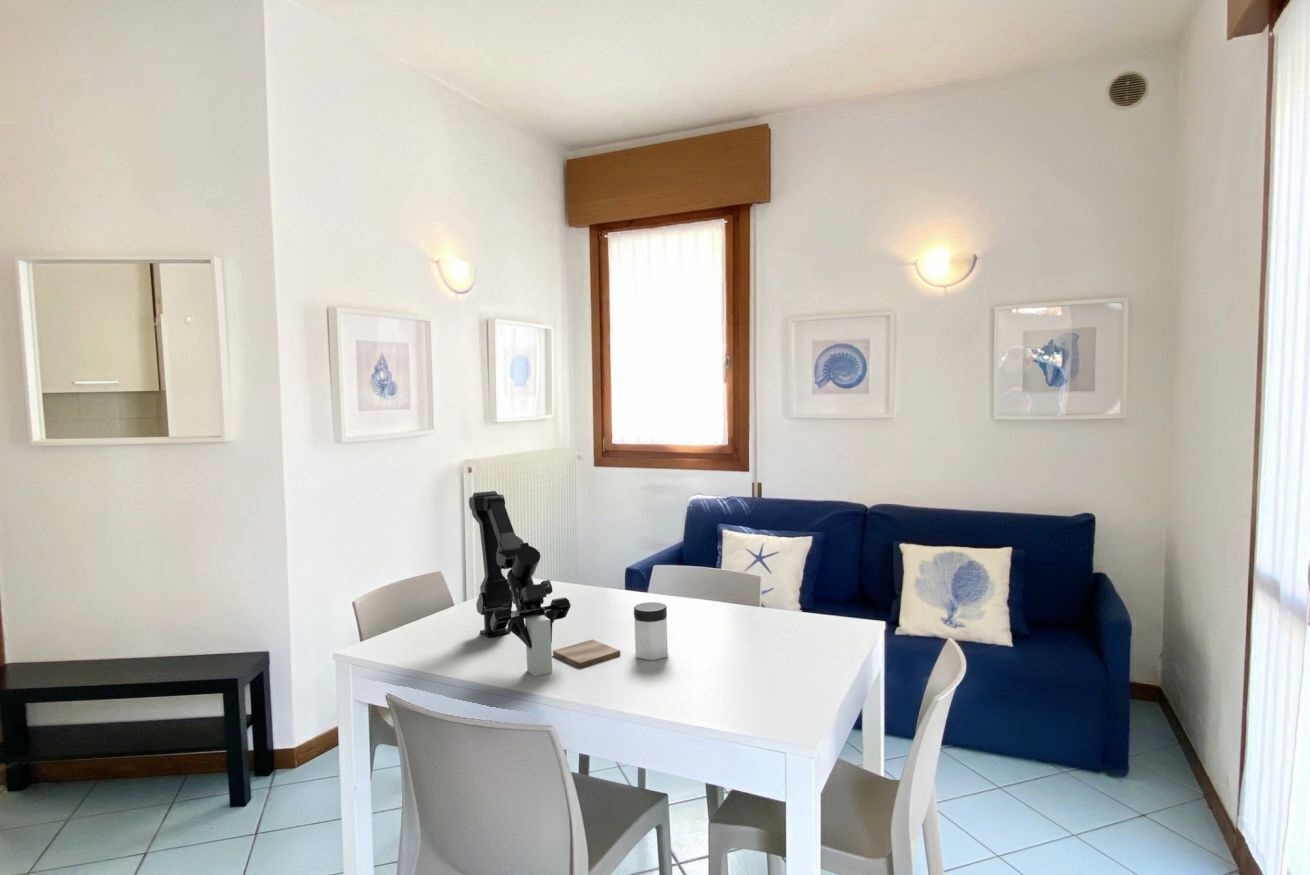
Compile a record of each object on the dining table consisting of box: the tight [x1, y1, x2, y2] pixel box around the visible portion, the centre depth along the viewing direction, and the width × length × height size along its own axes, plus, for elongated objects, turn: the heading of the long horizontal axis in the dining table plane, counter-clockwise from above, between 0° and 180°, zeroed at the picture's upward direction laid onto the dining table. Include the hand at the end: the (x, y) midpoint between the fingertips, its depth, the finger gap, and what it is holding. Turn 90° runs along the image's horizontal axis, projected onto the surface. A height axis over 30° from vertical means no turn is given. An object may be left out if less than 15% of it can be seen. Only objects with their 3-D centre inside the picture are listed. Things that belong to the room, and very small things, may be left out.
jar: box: [633, 601, 669, 661], centre depth 174 cm, size 9×8×12 cm
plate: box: [552, 639, 621, 669], centre depth 175 cm, size 12×12×1 cm
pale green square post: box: [524, 615, 553, 677], centre depth 165 cm, size 4×4×12 cm
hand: (540, 645), depth 163 cm, fingers closed on pale green square post, 4 cm apart
